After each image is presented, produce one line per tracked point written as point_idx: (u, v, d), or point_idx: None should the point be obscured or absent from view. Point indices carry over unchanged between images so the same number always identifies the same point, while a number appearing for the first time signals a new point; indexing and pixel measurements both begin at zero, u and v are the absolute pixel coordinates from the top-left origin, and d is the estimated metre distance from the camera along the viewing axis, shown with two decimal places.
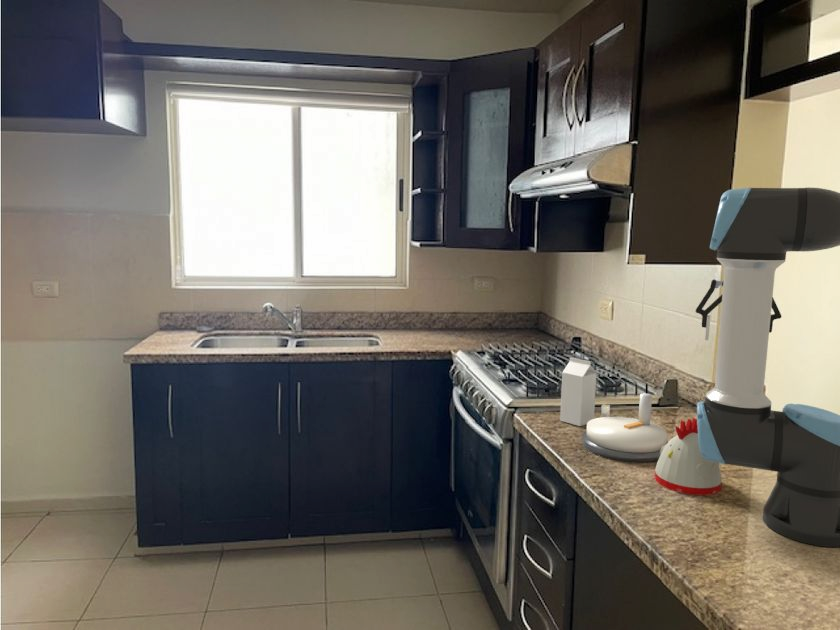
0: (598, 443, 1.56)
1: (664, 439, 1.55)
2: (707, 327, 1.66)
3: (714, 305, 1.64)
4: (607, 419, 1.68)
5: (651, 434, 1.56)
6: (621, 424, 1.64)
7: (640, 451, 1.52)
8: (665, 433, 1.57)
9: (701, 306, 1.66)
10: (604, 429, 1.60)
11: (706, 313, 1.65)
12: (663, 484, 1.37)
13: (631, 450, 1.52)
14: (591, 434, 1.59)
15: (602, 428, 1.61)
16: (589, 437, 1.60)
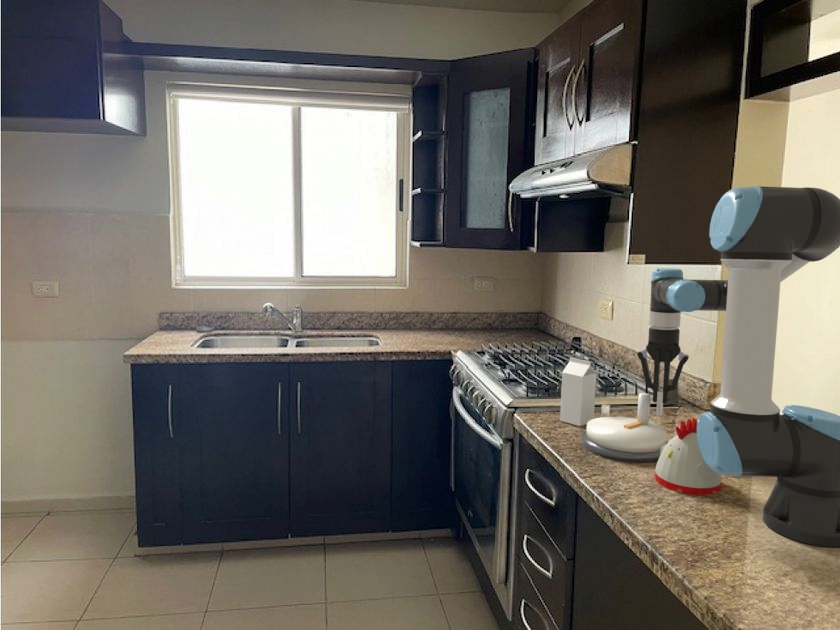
0: (600, 444, 1.56)
1: (665, 438, 1.55)
2: (658, 402, 1.63)
3: (656, 376, 1.62)
4: (606, 419, 1.68)
5: (652, 434, 1.57)
6: (621, 424, 1.64)
7: (642, 451, 1.52)
8: (665, 432, 1.58)
9: (647, 380, 1.63)
10: (605, 430, 1.59)
11: (656, 387, 1.63)
12: (663, 484, 1.37)
13: (633, 450, 1.52)
14: (592, 435, 1.59)
15: (603, 428, 1.61)
16: (590, 438, 1.60)
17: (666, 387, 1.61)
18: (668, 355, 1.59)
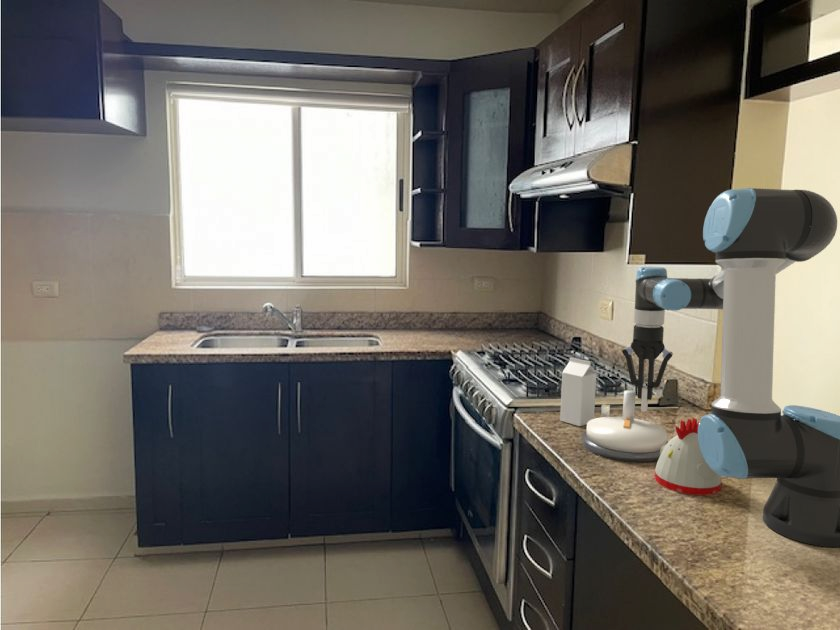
0: (620, 449, 1.53)
1: None
2: (642, 399, 1.65)
3: (640, 373, 1.65)
4: (597, 422, 1.66)
5: (653, 430, 1.60)
6: (615, 424, 1.64)
7: (659, 449, 1.54)
8: (659, 426, 1.63)
9: (632, 376, 1.66)
10: (615, 433, 1.57)
11: (640, 384, 1.65)
12: (663, 484, 1.37)
13: (653, 449, 1.53)
14: (608, 441, 1.54)
15: (611, 432, 1.57)
16: (605, 444, 1.55)
17: (650, 384, 1.64)
18: (652, 352, 1.62)
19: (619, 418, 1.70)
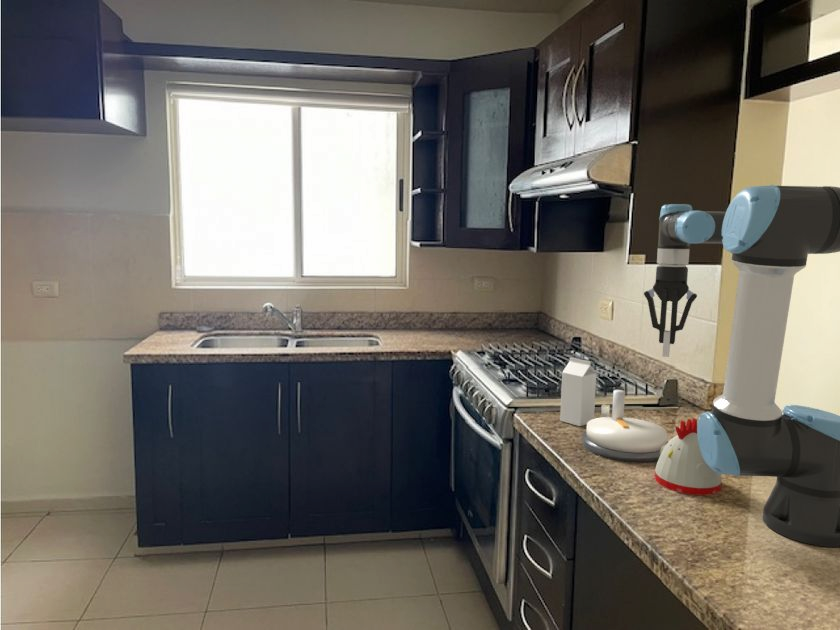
0: (636, 450, 1.52)
1: None
2: (664, 343, 1.59)
3: (663, 316, 1.58)
4: (595, 425, 1.63)
5: (649, 427, 1.63)
6: (613, 425, 1.63)
7: None
8: (650, 422, 1.66)
9: (654, 320, 1.60)
10: (624, 435, 1.55)
11: (662, 327, 1.59)
12: (663, 484, 1.37)
13: None
14: (622, 444, 1.52)
15: (620, 434, 1.56)
16: (619, 447, 1.53)
17: (673, 327, 1.58)
18: (676, 293, 1.56)
19: (608, 418, 1.69)
